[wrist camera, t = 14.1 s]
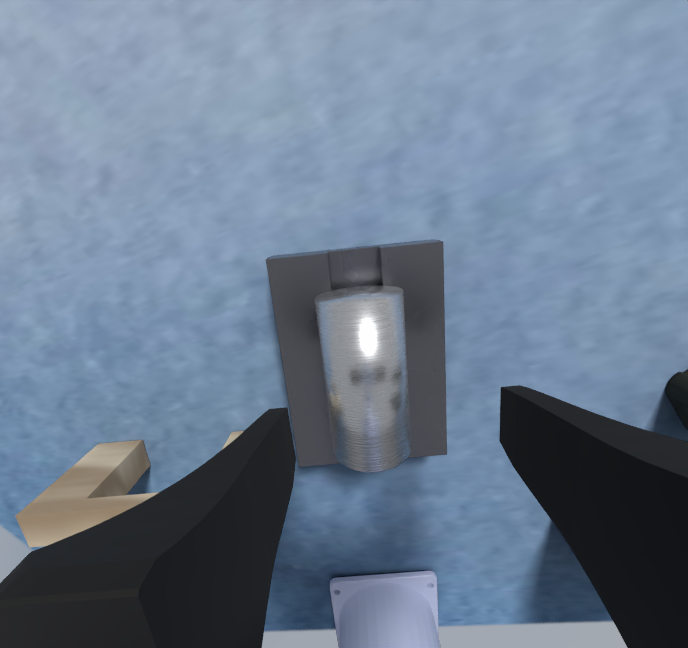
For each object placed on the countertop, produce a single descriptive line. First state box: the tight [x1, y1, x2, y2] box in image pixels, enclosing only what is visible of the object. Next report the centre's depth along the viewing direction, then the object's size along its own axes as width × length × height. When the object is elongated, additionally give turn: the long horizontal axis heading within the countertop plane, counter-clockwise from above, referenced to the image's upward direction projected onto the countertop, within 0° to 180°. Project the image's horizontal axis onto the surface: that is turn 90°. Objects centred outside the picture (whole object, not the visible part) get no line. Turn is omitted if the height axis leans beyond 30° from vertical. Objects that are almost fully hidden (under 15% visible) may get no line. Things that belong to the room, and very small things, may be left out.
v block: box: [266, 240, 447, 467], centre depth 19 cm, size 12×9×3 cm
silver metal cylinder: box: [315, 285, 411, 472], centre depth 16 cm, size 8×4×4 cm, turn 6°
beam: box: [16, 431, 244, 547], centre depth 19 cm, size 2×12×6 cm, turn 96°
